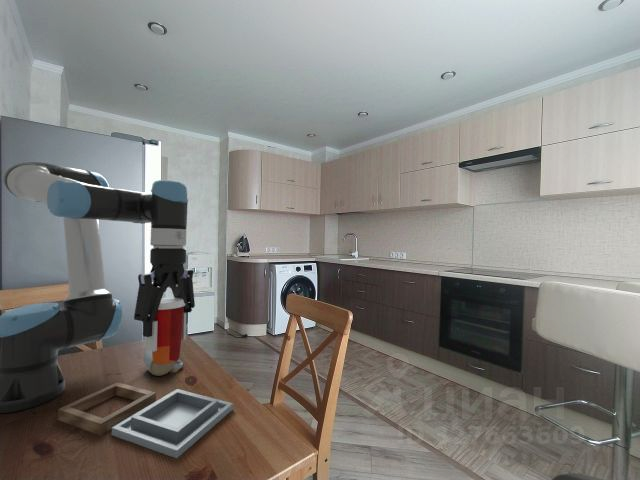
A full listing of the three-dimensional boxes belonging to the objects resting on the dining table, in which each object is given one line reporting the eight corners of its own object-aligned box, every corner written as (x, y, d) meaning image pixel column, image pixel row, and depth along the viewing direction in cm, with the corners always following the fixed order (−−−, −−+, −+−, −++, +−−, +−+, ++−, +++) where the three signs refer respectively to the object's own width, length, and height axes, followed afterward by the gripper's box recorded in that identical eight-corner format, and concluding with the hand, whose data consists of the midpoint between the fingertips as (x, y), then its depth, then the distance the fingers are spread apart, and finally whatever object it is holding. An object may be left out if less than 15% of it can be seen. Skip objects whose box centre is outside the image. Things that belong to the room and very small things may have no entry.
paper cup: (179, 351, 75) (180, 295, 75) (188, 360, 69) (189, 301, 69) (144, 358, 70) (145, 299, 70) (150, 369, 64) (151, 305, 64)
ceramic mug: (149, 380, 88) (150, 354, 88) (142, 370, 94) (144, 346, 94) (186, 371, 95) (187, 347, 95) (178, 362, 101) (179, 340, 101)
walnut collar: (57, 419, 68) (58, 409, 68) (117, 391, 81) (117, 382, 81) (100, 435, 64) (100, 423, 64) (155, 402, 77) (156, 392, 77)
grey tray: (111, 435, 64) (112, 420, 64) (177, 394, 81) (177, 383, 81) (176, 458, 58) (177, 442, 58) (232, 409, 75) (233, 397, 75)
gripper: (140, 248, 59) (137, 363, 59) (211, 247, 78) (209, 333, 78) (114, 247, 61) (111, 357, 61) (189, 246, 81) (187, 330, 80)
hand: (166, 344), depth 70 cm, fingers closed on paper cup, 8 cm apart
